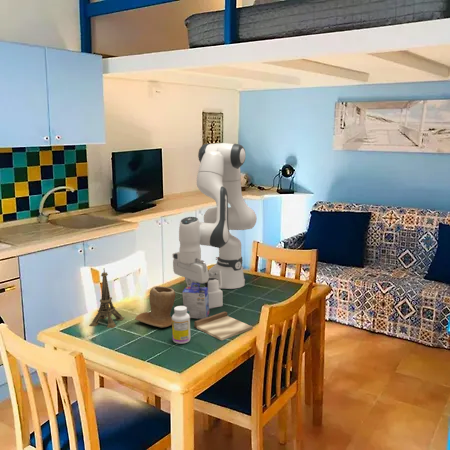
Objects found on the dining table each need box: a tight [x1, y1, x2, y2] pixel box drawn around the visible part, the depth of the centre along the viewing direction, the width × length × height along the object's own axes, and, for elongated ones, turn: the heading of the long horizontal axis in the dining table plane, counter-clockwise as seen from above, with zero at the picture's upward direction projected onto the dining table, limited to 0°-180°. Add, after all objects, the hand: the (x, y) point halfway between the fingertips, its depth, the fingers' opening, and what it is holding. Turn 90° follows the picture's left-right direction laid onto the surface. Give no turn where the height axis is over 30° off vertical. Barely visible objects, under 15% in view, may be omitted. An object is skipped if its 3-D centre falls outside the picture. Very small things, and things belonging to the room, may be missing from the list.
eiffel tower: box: [88, 269, 125, 329], centre depth 202 cm, size 11×11×25 cm
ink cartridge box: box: [181, 282, 210, 320], centre depth 207 cm, size 10×6×14 cm, turn 79°
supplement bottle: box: [171, 305, 191, 345], centre depth 185 cm, size 7×7×13 cm
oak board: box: [193, 311, 253, 341], centre depth 197 cm, size 16×16×2 cm
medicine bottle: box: [204, 278, 224, 310], centre depth 221 cm, size 7×7×12 cm
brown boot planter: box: [134, 285, 176, 329], centre depth 202 cm, size 15×12×15 cm
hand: (190, 288), depth 210 cm, fingers closed
